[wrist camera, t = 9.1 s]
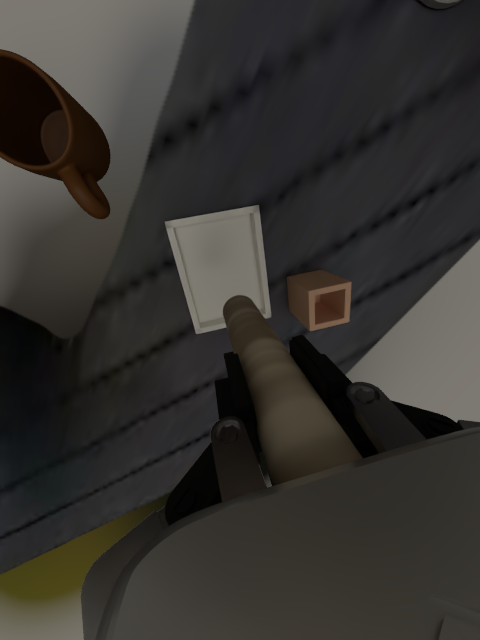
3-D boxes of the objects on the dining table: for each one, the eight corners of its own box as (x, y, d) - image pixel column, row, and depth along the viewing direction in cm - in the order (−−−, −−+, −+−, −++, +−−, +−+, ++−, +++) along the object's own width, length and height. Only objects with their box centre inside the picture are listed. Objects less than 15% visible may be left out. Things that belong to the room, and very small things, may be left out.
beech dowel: (219, 299, 19) (287, 523, 5) (253, 291, 20) (407, 485, 5) (226, 329, 21) (295, 578, 6) (257, 322, 21) (391, 544, 7)
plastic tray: (167, 221, 30) (164, 221, 28) (253, 206, 31) (258, 204, 29) (196, 325, 37) (196, 334, 35) (266, 310, 38) (271, 317, 36)
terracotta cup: (286, 276, 37) (308, 291, 29) (321, 269, 37) (351, 281, 30) (289, 310, 39) (309, 331, 32) (321, 303, 40) (349, 321, 33)
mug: (149, 203, 29) (130, 197, 21) (99, 232, 30) (61, 238, 21) (79, 90, 24) (15, 20, 16) (19, 126, 24) (-75, 78, 16)
